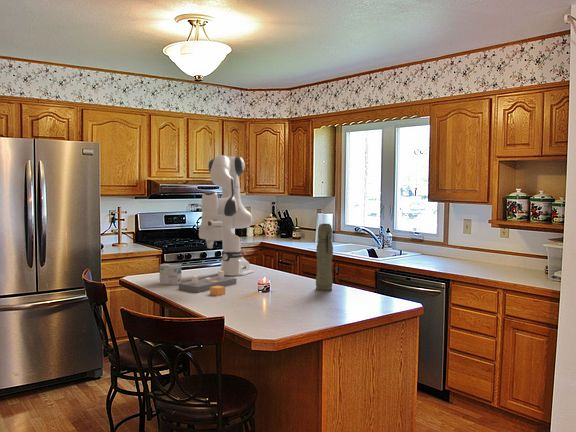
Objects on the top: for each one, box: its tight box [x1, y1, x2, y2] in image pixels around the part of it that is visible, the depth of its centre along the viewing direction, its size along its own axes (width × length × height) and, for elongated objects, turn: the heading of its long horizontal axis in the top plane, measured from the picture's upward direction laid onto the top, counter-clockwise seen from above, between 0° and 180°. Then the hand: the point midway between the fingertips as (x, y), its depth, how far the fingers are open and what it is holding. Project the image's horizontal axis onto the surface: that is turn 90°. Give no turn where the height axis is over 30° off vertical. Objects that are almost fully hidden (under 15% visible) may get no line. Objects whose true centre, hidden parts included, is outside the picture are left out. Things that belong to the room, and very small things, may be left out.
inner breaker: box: [217, 270, 225, 279], centre depth 291 cm, size 2×2×4 cm
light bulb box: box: [159, 263, 182, 286], centre depth 290 cm, size 11×7×11 cm, turn 84°
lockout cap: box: [209, 286, 226, 297], centre depth 265 cm, size 5×5×4 cm
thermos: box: [315, 223, 334, 292], centre depth 279 cm, size 9×12×35 cm
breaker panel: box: [178, 275, 237, 293], centre depth 283 cm, size 30×14×3 cm, turn 145°
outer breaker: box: [191, 275, 199, 284], centre depth 275 cm, size 2×2×4 cm
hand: (210, 248), depth 277 cm, fingers closed
